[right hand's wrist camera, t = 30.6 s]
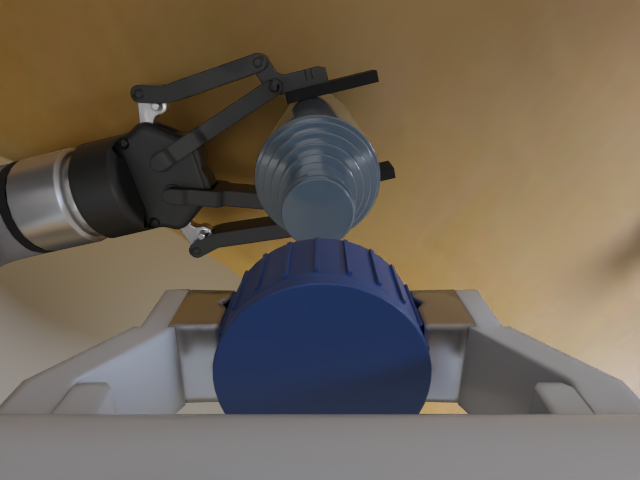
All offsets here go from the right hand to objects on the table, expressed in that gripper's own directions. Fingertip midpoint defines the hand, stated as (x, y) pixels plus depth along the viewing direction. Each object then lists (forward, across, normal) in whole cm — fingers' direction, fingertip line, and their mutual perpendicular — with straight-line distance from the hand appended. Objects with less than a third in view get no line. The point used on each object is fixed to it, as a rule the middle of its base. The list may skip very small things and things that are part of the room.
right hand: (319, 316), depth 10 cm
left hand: (+25, -5, -1) cm, 26 cm away
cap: (-2, 0, 0) cm, 2 cm away
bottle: (+31, 0, 0) cm, 31 cm away
